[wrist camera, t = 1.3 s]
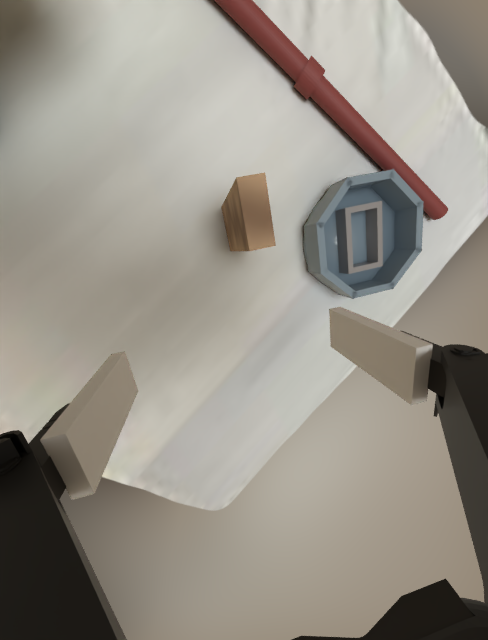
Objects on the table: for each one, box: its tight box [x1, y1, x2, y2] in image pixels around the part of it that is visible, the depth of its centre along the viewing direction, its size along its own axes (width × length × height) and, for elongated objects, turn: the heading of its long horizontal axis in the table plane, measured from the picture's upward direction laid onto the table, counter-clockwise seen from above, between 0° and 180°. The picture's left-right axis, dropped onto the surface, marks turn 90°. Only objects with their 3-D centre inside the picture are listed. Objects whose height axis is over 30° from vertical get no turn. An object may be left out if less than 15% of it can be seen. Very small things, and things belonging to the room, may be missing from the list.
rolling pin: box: [214, 0, 448, 220], centre depth 31 cm, size 45×3×3 cm, turn 57°
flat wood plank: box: [221, 173, 276, 251], centre depth 27 cm, size 6×2×14 cm, turn 11°
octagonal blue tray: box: [303, 169, 424, 299], centre depth 35 cm, size 16×16×5 cm
